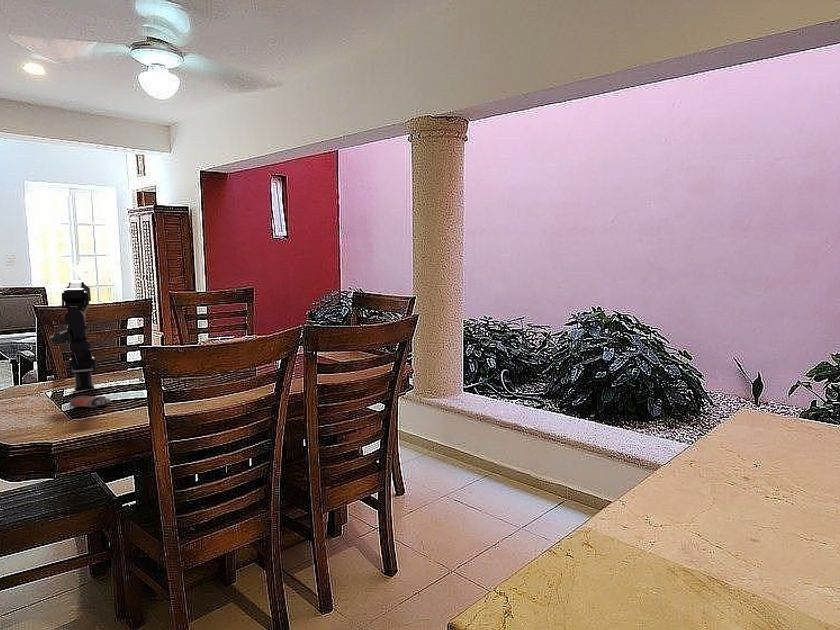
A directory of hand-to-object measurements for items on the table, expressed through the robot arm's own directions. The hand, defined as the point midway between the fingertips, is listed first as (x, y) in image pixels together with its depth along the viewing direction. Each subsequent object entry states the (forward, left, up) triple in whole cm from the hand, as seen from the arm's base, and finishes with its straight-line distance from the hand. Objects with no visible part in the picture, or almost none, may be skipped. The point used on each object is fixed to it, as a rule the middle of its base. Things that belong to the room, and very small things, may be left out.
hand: (79, 365), depth 208 cm
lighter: (+12, -2, -10) cm, 16 cm away
